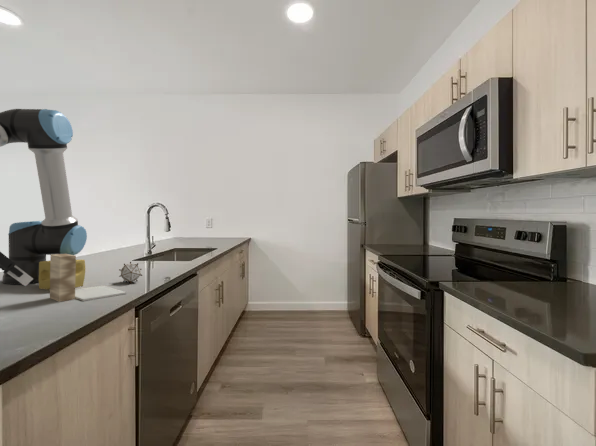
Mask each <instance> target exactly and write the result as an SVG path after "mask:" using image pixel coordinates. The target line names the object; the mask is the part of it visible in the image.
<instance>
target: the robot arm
mask: <svg viewBox="0 0 596 446" xmlns="http://www.w3.org/2000/svg"><path fill="white" fill-rule="evenodd" d="M69 120H70V119H68V118H67V117H66V115H65V114H64V113H62V112H61V111H59V110H56V109H55V110H54V109H47V108H44V109H43V108H42V109H41V108H40V109H39V108H37V109H36V108H12V109H8V110H4V111H1V112H0V147H3V146H6V145H9V144H12V143H27V147H28V150H29V151H31V152H33V154H34V158H35V163H36V164H35V165H36V171H37V176H38V181H39V187H40V195H41V201H42V206H43V212H44V218H43V220H33V221H19V222H14V223H11V224H10V226H9V230H8V234H7V235H8V256H6V255H5V254H4V253H2V252H1V251H0V270H1V271H2V272H3V274H2V283H3V284H6V285H23V286H25V287H26V286H28V285H29V284H39V262H42V261H47V256H48V255H49V256H51V255H53V254H70V255H75V256H76V255H78V254H79V253H80V252H82V250H83V249H84V247H85V245H86V243H87V238H88V235H87V234H88V233H87V230H86V229H85V227H84V226H82V225H80V224H79V221H78V218H76V217H75V216H73V213H72V212H73V211H72V206H71V205H72V204H71V199H70V192H69V186H68V178H67V169H66V163H65V158H64V157H65V156H64V152H66V150H67V149H68V146H67V144H69V143H70V142H72V138H73V135H74V131H73V127H72V124H71V122H70V121H69Z"/></svg>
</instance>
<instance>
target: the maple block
mask: <svg viewBox="0 0 596 446" xmlns="http://www.w3.org/2000/svg"><path fill="white" fill-rule="evenodd" d="M76 257H77V256H76V255H70V254H53V255H50V260H49V261H50V290H49V299H52V300H54V301H57V302H59V303H60V302H67V301H72V300H73V301H74V300H76V298H75V289H76V288H75V274H76V260H77V258H76Z"/></svg>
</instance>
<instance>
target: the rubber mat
mask: <svg viewBox="0 0 596 446" xmlns="http://www.w3.org/2000/svg"><path fill="white" fill-rule="evenodd" d="M123 295H127V291H123V290H121V289H120V290H119V289H118V288H113V287H110V286H107V285H98V286H97V285H96V286H90V287H84V288H75V300H78V301H79V300H80V301H82V302H86V301H93V300H99V299H105V298H110V297H115V296H116V297H117V296H123Z"/></svg>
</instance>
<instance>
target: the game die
mask: <svg viewBox="0 0 596 446" xmlns="http://www.w3.org/2000/svg"><path fill="white" fill-rule="evenodd" d="M138 265H139V262H138V263H132V261H130V262H129V263H127V264H126V263H123V266H122V268H121V269H118V271H120V275H119V276H118V277H119V278H120V277H121V278H122V280H123V281H122V283H124V282H129V284H133V283H132V282H135V281H136V282H138V279H139V278H140V276H143V274H141V271H142V268H140V266H138Z"/></svg>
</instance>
